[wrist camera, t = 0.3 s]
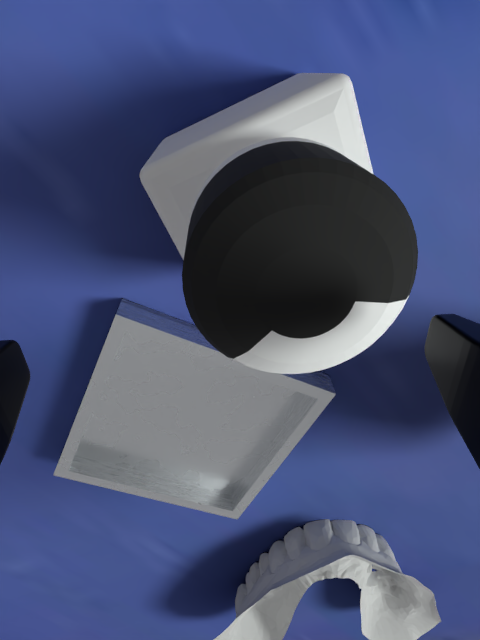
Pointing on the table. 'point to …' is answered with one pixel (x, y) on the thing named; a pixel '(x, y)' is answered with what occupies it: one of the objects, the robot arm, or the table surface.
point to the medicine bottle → (285, 227)
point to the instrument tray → (185, 417)
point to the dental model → (331, 562)
